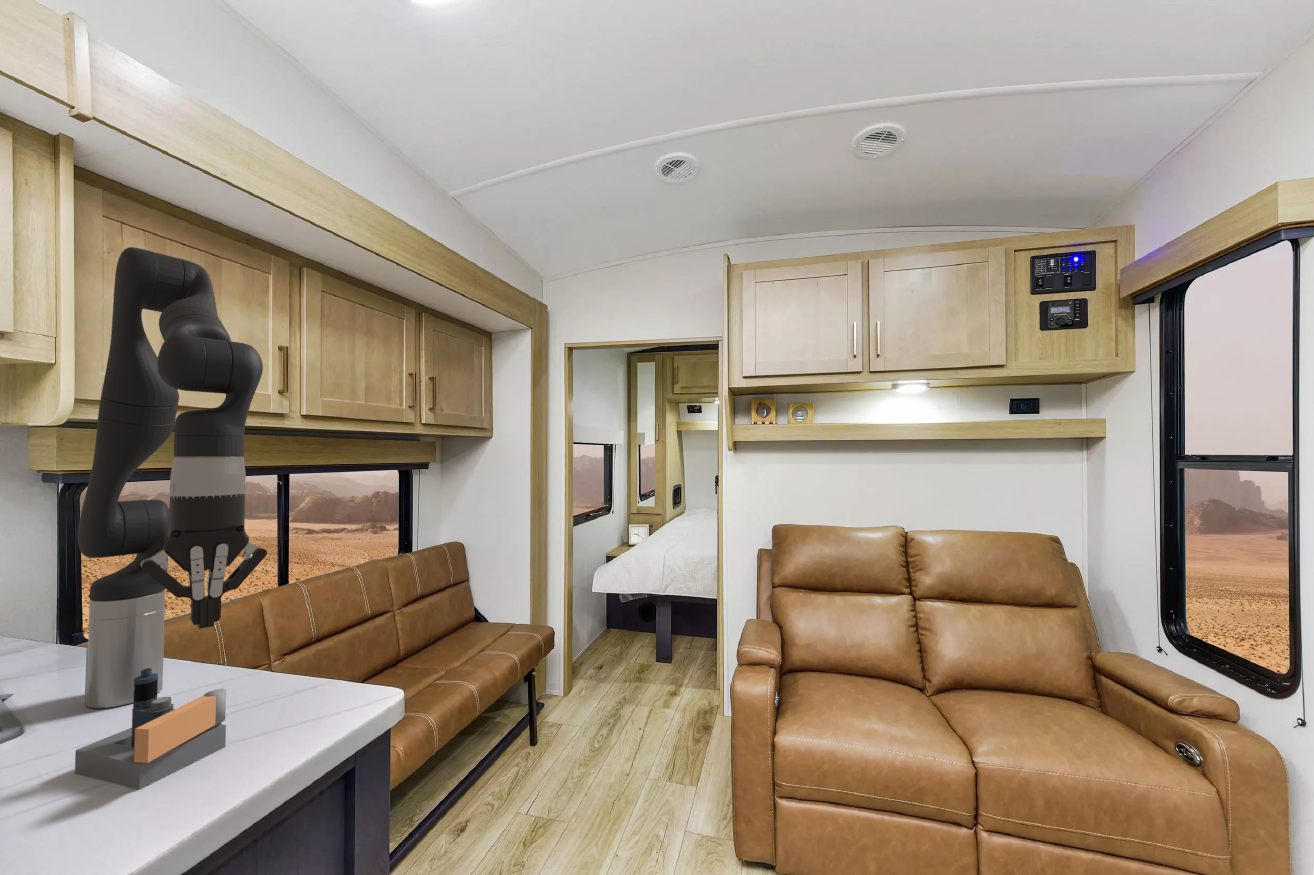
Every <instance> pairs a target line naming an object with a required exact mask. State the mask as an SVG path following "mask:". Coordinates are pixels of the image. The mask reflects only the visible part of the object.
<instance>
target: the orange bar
mask: <svg viewBox="0 0 1314 875" xmlns="http://www.w3.org/2000/svg"><path fill="white" fill-rule="evenodd" d="M226 700H227V689H226V688H220V689H214V690H209V691H208V692H206V693H204V694H203V695H201V696H199V697H197V698H195V699H192V700H191V701H190V702H187V703H186V704H183V705H181V706H179V707H177V708H174V709H175V710H173V711H171V712H169V713H166V714H164V715H162V716H160V717H158V718H156V719H154V720H152V721H150V722H148V723H146V724H144V725H142V726H140V727H138V728H136V729H135V750H134V762H142V763H148V762H150V761H152V760H154V759H155V758H157V757H159V756H161V755H162V754H164V753H166V752H168V751H170V750H171V749H173V748H175V747H177V746H178V745H180V744H182V743H184V742H186V741H187V740H189V739H191V738H193V737H194V736H196V735H198V734H200V733H202V732H203V731H205V730H207V729H209V728H210V727H212V726H214V725H216V724H219V723H221V722H222V723H223V722H225V721H226V709H227V708H226V704H227V703H226V702H227V701H226Z"/></svg>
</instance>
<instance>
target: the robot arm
mask: <svg viewBox="0 0 1314 875" xmlns="http://www.w3.org/2000/svg"><path fill="white" fill-rule="evenodd" d="M116 263H117V264H116V267H115V273H114V274H115V276H114V277H115V278H114V286H113V287H114V288H113V302H112V303H113V304H112V317H111V319H112V320H111V334H110V335H111V336H110V345H109V349H108V350H109V352H108V358H107V363H106V368H105V373H104V378H103V384H102V387H101V394H100V400H99V407H98V415H97V423H96V424H97V425H96V437H95V445H94V446H95V447H94V452H93V462H92V467H91V471H90V476H89V480H88V483H87V484H88V485H87V488H86V492H85V496H84V500H83V503H82V507H81V512H80V517H79V522H78V527H77V545H78V549H79V551H80V553H81V554H82V555H83V556H84V557H86V558H90V559H101V558H102V559H103V558H112V557H118V556H119V557H120V556H129V555H136V556H135V557H134V559H133V560H132V561H131V562H130V563H128V564H127V565H126V566H124V567H123V568H120V569H119V570H117V571H115V572H113V573H110V574H106V575H105V576H102V577H100V578H97V579H96V580H94V581H93V582H92V583H91V585H90V588H89V603H88V605H89V608H88V610H89V611H88V641H87V642H88V643H87V644H86V651H85V652H86V653H85V654H86V655H85V680H84V681H85V683H84V684H85V685H84V701H86V702H85V704H86V707H87V708H90V709H107V708H113V707H120V706H124V705H128V704H132V703H133V701H134V689H135V688H134V687H135V685H134V679H135V678H136V677H138V676H141V670H143V669H147V668H152V673H157V674H158V692H157V694H158V693H159V692H160V691H161V690H163V684H164V680H163V678H164V653H165V652H164V651H165V650H164V649H165V648H164V647H165V645H164V644H165V615H166V614H165V612H166V611H165V608H166V606H165V605H166V604H165V602H166V599H165V598H166V590H167V592H169V593H171V595H173V596H174V597H175V598H178V599H179V598H185V599H190V621H191V623H192V624H193V626H197V628H198V630H200V629H201V630H202V629H206V628H208V629H209V628H213V627H215V623H216V622H219V621H220V619H221V617H222V615H221V614H222V613H221V612H222V597H223V595H225V593H228V592H231V591H233V590H236V589H238V588H239V587H240V586H241V585H242V584H243V582H244V581H245V580H247V578H248V577H249V575H251V573H252V572H253V571H254V570H255V569H256V568H257V566H258V565H259V564H260V563H262V562H263V560H264V559H265V558H266V556H267V555H268V551H267V550H266V549H265V548H263V547H261V546H257V545H256V544H254V543H251V542H250V537H249V535H248V534H247V532H246V529H245V526H246V525H245V522H246V521H245V519H246V518H245V517H246V514H245V513H246V490H247V481H246V480H247V478H246V477H247V476H246V467H245V466H246V464H245V430H246V429H245V428H246V423H247V417H248V415H249V411H250V407H251V406H252V405H251V404H252V401H253V399H254V396H255V394H256V391H257V389H258V386H259V384H260V382H261V378H262V375H263V371H264V370H263V369H264V364H263V360H262V357H261V355H260V353H259V352H258V350H257V349H256V348H254V347H253V346H252V345H250V344H248V343H244V342H238V341H232V339H231V337H230V334H229V332H228V330H227V329H226V327H225V326H224V324H223V322H222V321H221V319H220V318H219V316H218V310H217V303H216V297H215V293H214V292H215V291H214V288H213V287H214V286H213V283H212V279H211V277H210V275H209V273H208V271H207V270H206V269H205V268H204V267H203V266H201V265H200V264H198V263H196V262H193V261H190V260H187V259H182V258H179V257H174V256H172V255H168V254H167V255H166V254H163V253H161V252H160V253H159V252H155V251H151V250H147V249H143V248H139V247H134V246H131V247H127V248H125V249H123V250H122V252H121V253H120V255H119V257H118V260H117V262H116ZM143 310H145V311H146V310H148V311H153V312H158V313H160V315H159V319H158V329H159V332H160V335H161V336H162V340H163V343H162V344H161V346H160V350H159V353H158V355H157V354H156V352H155V350H154V349H153V347H152V345H151V343H150V340H149V338H148V337H147V334H146V332H145V331H146V330H145V328H144V323H143V318H142V317H143V316H142V315H143V313H142V312H143ZM179 391H185V392H196V393H197V392H198V393H213V394H225V398H224V400H223V401H222V403H221V404H220V405H219V406H216V407H213V408H206V409H196V410H187V411H184V412H181V413H179V414H178V415H177V412H178V408H179V401H180V394H179ZM173 432H174V433H173ZM172 434H174V435H173V440H174V441H173V461H172V466H171V470H170V478H169V480H170V481H169V506H168V504H167V503H166V502H165V501H163V500H160V499H136V500H120V501H119V499H120V495H121V493H122V491H123V489H124V487H125V485H126V484H127V482H128V480H129V478H131V477H132V475H133V473H135V471H136V470H138V469H139V467H141V465H142V464H144V463H145V462H146V461H147V460H148V459H149V458H150V457H152V455H153V454H154V453H156V451H158V450H159V449H160V448H161V447H162V446H163V444H164V443H166V441H167V440H168V439H169V438H170V437H171V435H172ZM241 552H243V553H242V555H241V557H242V558H243V561H241V562H240V564H239V565H238V566H237V567H236V568H235V569H234V570H233V572H232V573H230V575H229V576H228V577H227V578H226V579H225V577H226V569H227V568H228V567H229V566H230V565H231V564H232V563H233V562H234V561H235V560H236V558H237V557H238V556H239V555H240V553H241ZM169 558H170V559H171V560H172V561H174V563H175V564H177V565H178V566H179V567H180V568H181V569H182V570H183V571H185V572H187V574H188V580H189V581H188V582H189V585H183V584H182V583H181V582H180V581H178V580H177V579H176V578H175V577H174V576H173V575H171V574H170V573H169V572H168V568H169V565H170V564H169ZM207 570H208V580H207V588H205V579H206V578H205V571H207ZM206 591H207V595H206Z"/></svg>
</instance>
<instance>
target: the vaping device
mask: <svg viewBox="0 0 1314 875" xmlns="http://www.w3.org/2000/svg"><path fill="white" fill-rule="evenodd" d="M134 685H135V687H134V688H135V689H134V701H133V707H132V710H131V711H132V713H131V715H132V716H131V728H132V742H131V747H135V729H136V728H138V727H140V726H142V725H144V724H146V723H148V722H150V721H152V720H154V719H156V718H158V717H160V716H162V715H164V714H166V713H169V712H171V711H173V710H175V709H176V708H174V705H175V704H174V703H172V697H171V696H163V697H159V698H158V693H159V692H158V674H157V673H152V668H147V669H143V670H141V676H138V677H136V678H135V679H134ZM157 692H158V693H157Z"/></svg>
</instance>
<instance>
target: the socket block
mask: <svg viewBox="0 0 1314 875" xmlns="http://www.w3.org/2000/svg"><path fill="white" fill-rule="evenodd" d="M222 723H223V722H221V723H219V724H216V725H214V726H212V727H210V728H209V729H207V730H205V731H203V732H202V733H200V734H198V735H196V736H194V737H193V738H191V739H189V740H187V741H186V742H184V743H182V744H180V745H178V746H177V747H175V748H173V749H171V750H170V751H168V752H166V753H164V754H162V755H161V756H159V757H157V758H155V759H154V760H152V761H150V762H148V763H142V762H134V750H135V747H131V742H132V727H130V728H127V729H124V730H122V731H120V732H117V733H115V734H112V735H110V736H107V737H105V738H102V739H100V740H97V741H95V742H92V743H89V744H88V745H85V746H83V747H80V748H78V749H75V757H74V775H79V776H83V777H86V778H90V779H94V780H99V781H103V782H108V783H110V784H111V783H112V784H115V785H119V786H124V787H127V788H131V789H134V790H135V789H136V790H142V789H144V788H146V787H147V786H150V785H151V784H154V783H155V782H157V781H160V780H162V779H164V778H165V777H167V776H170V775H171V774H173V773H176V772H178V771H179V770H181V769H184V768H185V767H188V766H190V765H191V764H193V763H196V762H197V761H199V760H202V759H204V758H205V757H207V756H209V755H212V754H214V753H216V752H218V751H220V750H221V749H224V748H225V747H226V734H227V733H226V732H227V731H226V730H227V725H226V724H222Z"/></svg>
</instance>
